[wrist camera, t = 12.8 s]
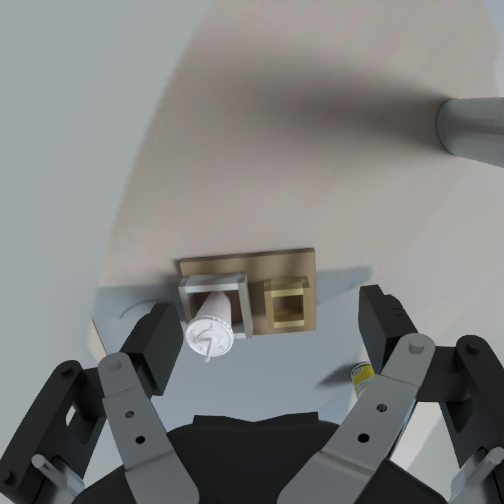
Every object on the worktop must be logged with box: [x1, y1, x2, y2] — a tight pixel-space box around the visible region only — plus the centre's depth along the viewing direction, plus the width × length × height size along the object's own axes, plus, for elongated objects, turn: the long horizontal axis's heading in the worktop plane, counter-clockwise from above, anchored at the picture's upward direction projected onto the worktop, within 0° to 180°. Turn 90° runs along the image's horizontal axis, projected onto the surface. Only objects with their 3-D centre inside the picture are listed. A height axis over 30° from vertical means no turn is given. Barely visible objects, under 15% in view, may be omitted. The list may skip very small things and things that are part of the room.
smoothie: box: [185, 291, 234, 362], centre depth 41 cm, size 6×6×14 cm
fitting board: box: [178, 248, 316, 339], centre depth 46 cm, size 20×14×5 cm
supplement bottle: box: [351, 362, 375, 399], centre depth 50 cm, size 5×5×10 cm
